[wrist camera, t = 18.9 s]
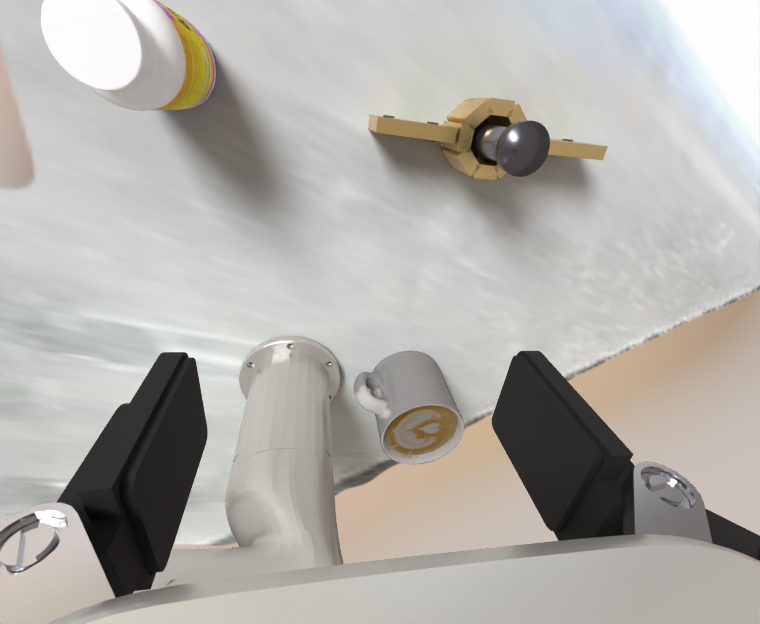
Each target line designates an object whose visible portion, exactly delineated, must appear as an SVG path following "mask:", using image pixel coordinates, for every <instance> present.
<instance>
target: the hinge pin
mask: <svg viewBox="0 0 760 624" xmlns="http://www.w3.org/2000/svg"><path fill="white" fill-rule="evenodd" d="M549 148H550V137H549V134H548V131H547V130H546V128H545V127H544V126H543V125H542V124H540V123H538V122H535V121H527V120H522V121H517V122H515V123H513V124H511V125H510V126H508V127H502V126H494V125H487V124H479V125H478V126H477V127H476V128H474V133H473V138H472V143H471V148H470V150H471V151H472V153H474V154H477V155H480V156H483V157H486V158H490V159H493V160H496V161H497V164H498V166H499V167H500V168H501V169H502V170H503V171H504V172H506V173H508V174H511V175H514V176H518V177H522V176H527V175H530V174H532V173H533V172H535V171H536V170H537V169H539V168H540V166H541V165H542V164H543V163H544V161H545V159H546V157H547V155H548V152H549Z"/></svg>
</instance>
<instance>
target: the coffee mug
mask: <svg viewBox="0 0 760 624" xmlns="http://www.w3.org/2000/svg"><path fill="white" fill-rule="evenodd" d="M367 387H368V388H369V389H370V390H371V393H370V392H369V391H368V388H367ZM354 393H355V396H356V399H357V400H358V402H359V404H360V405H361V406H362V407H363V408H365V409H366V410H368V411H370V412H372V413H374V414H375V416H376V421H377V426H378V431H379V437H380V442H381V446H382V449H383V450H384V452H385V453H386V455H387V456H389V457H390V458H391V459H393V460H395V461H397V462H400V463H404V464H423V463H428V462H431V461H434V460H437V459H439V458H441V457H443V456H444V455H446V454H448V453H449V452H450V451H451V450H452V449H454V448H455V446H456V445H457V444H458V443H459V441H460V440H461V437H462V435H463V431H464V423H463V420H462V417H461V415H460V412H459V410H458V408H457V406H456V404H455V402H454V400H453V397H452V395H451V393H450V391H449V389H448V387H447V385H446V382H445V380H444V378H443V376H442V374H441V372H440V369H439V367H438V365H437V363H436V362H435V361H434V360H433V359H432V358H431V357H430V356H428V355H426V354H424V353H421V352H417V351H403V352H398V353H395V354H393V355H390V356H388V357H387V358H385V359H384V360H382V361H381V362H380V363H379V364H378V365H377V366H376V367H375V369H374V370H373V372H372V373H369V372H364V373H361V374H360V375H359V376H358V377H357V378H356V380H355V383H354Z"/></svg>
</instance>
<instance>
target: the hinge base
mask: <svg viewBox="0 0 760 624" xmlns="http://www.w3.org/2000/svg"><path fill="white" fill-rule="evenodd" d="M447 118H448V120H449V121H450V122H449V121H444V126H448V127H454V128H458V130H457V135H456V140H455V143H447V142H441V144H440V146H443V147H444V148H443V149H442V150H441V151H442V152H443V154H444V155H445V157H446V158H447V160H448V161H449V163H450V165H451V166H452V168H454V169H456V170H457V171H460V172H462V173H464V174H466V175H468V176H470V177H472V178H477V179H488V180H496V178H502V177H503V176H504V175H505V174H507V173H506V172H504V171H503V170H502V169H501V168H500V167H499V166H498V164H497V161H496V160H493V159H490V158H486V157H483V156H479V157H478V158H475V156H474V155H473V153H472V151H471V150H470V148H471V143H472V138H473V133H474V128H476V127H477V126H478V125H479V124H480V123H481V122H483V121H484V120H485V119H486V118H487V119H488V121H489V123H490V125H494V126H502V127H508V126H510V125H511V124H513V123H515V122H517V121H522V120H526V117H525V115H524V113H523V111H522V109H521V107H520V105H519V104H515V101H510V100H502V99H495V98H474V99H469V100H465V101H464V102H462V103H461V104H460V105H459V106H458V107H457V108H456V109H455V110H454V111H452V112H451V113H450V114H449V115H448V116H447ZM607 147H608V146H601V145H594V144H588V143H581V142H574V141H573V140H569V139H563V140H556V139H550V148H549V152H548V155H557V156H567V157H576V158H586V159H595V160H603V158H604V155H605V152H606V149H607Z"/></svg>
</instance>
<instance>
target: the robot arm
mask: <svg viewBox="0 0 760 624" xmlns="http://www.w3.org/2000/svg"><path fill="white" fill-rule="evenodd" d="M340 381H341V378H340V369H339V365H338V363H337V360H336V359H335V357H334V356H333V355H332V353H331V352H330V351H329V350H328V349H326V348H325V347H324V346H322V345H320V344H319V343H317V342H314V341H312V340H309V339H305V338H300V337H282V338H276V339H273V340H269V341H267V342H265V343H263V344H260V345H259V346H258V347H256V348H255V349H253V350H252V351H251V352H250V353H249V354H248V356H247V357H246V359H245V360H244V362H243V364H242V367H241V370H240V376H239V383H240V388H241V391H242V393H243V395H244V396H245V398H246V399H247V403H246V407H245V411H244V416H243V420H242V424H241V429H240V433H239V437H238V442H237V446H236V451H235V455H234V459H233V464H232V468H231V472H230V477H229V481H228V486H227V491H226V497H225V509H226V515H227V520H228V523H229V526H230V529H231V531H232V534H233V536H234V538H235V540H236V541H237V543H238V545H239V547H234V548H231V549H172V547H173V544H174V541H175V538H176V535H177V532H178V528H179V525H180V522H181V519H182V516H183V513H184V510H185V507H186V504H187V501H188V497H189V494H190V491H191V488H192V485H193V482H194V479H195V476H196V473H197V469H198V466H199V463H200V460H201V457H202V454H203V451H204V448H205V445H206V441H207V424H206V418H205V412H204V407H203V401H202V395H201V389H200V383H199V378H198V372H197V366H196V361H195V359H194V358H188V355H187V353H185V352H165V353H161V354H160V355H159V357H158V359H157V360H156V362H155V363H154V365H153V367H152V368H151V370H150V371H149V373H148V375H147V376H146V378H145V380H144V381H143V383H142V384H141V386H140V388H139V389H138V391H137V393H136V394H135V396H134V397H133V399H132V401H131V402H130V403H128V404H122V405H121V406H119V408H118V409H117V410H116V411H115V413H114V414H113V416H112V418H111V419H110V421H109V422H108V424H107V425H106V427H105V428H104V430H103V431H102V433H101V435H100V436H99V438H98V439H97V441H96V442H95V444H94V445H93V447H92V448H91V450H90V451H89V453H88V455H87V456H86V458H85V459H84V461H83V462H82V464H81V465H80V467H79V468H78V470H77V472H76V473H75V475H74V476H73V478H72V479H71V481H70V482H69V484H68V485H67V487H66V489H65V490H64V492H63V493H62V495H61V496H60V498H59V499H58V501H57V502H56V503H45V504H41V505H36V506H33V507H31V508H28V509H26V510H23V511H21V512H19V513H17V514H15V515H13V516H12V517H10V518H8V519H7V520H5V521H4V522H2V523H1V524H0V624H760V536H759V535H757V534H755V533H753V532H751V531H749V530H747V529H745V528H743V527H741V526H739V525H737V524H735V523H733V522H731V521H729V520H727V519H725V518H723V517H721V516H719V515H717V514H715V513H713V512H711V511H709V510H707V509H705V506H704V502H703V500H702V497H701V495H700V493H699V492H698V491H697V490H696V488H695V487H694V486H693V485H692V484H691V483H690V482H689V481H688V480H687V479H686V478H684V477H683V476H681V475H680V474H679V473H677V472H676V471H674V470H672V469H670V468H668V467H666V466H664V465H661V464H658V463H655V462H648V461H645V462H639V463H638V464H637V465H635V466H634V464H633V463H632V462H631V461H630V459H631V457H632V456H633V453H632V452H631V451H630V450H629V449H628V448H627V447H626V446H625V444H624V443H623V442H622V441H621V440H620V439H619V438H618V437H617V436H616V435H615V433H614V432H613V431H612V430H611V429H610V428H609V427H608V426H607V425H606V423H605V422H604V421H603V420H602V419H601V418H600V417H599V416H598V415H597V414H596V412H595V411H594V410H593V409H592V408H591V407H590V406H589V405H588V404H587V402H586V401H585V400H584V399H583V398H582V397H581V396H580V395H579V394H578V393H577V391H576V390H575V389H574V388H573V387H572V386H571V385H570V384H569V383H568V381H567V380H566V379H565V378H564V377H563V376H562V375H561V374H560V373H559V372H558V370H557V369H556V368H555V367H554V366H553V365H552V364H551V363H550V362H549V361H548V359H547V358H546V357H545V356H544V355H543V354H542V353H541V352H540V351H520V352H519V353H518V354H517V356H514V357H513V359H512V361H511V364H510V367H509V370H508V373H507V376H506V379H505V382H504V385H503V387H502V390H501V393H500V396H499V399H498V402H497V405H496V408H495V411H494V414H493V417H492V426H493V429H494V431H495V433H496V435H497V437H498V438H499V440H500V442H501V444H502V446H503V447H504V449H505V451H506V453H507V455H508V457H509V458H510V460H511V462H512V464H513V466H514V468H515V469H516V471H517V473H518V475H519V477H520V479H521V480H522V482H523V484H524V486H525V488H526V490H527V491H528V493H529V495H530V497H531V499H532V500H533V502H534V504H535V506H536V508H537V510H538V512H539V513H540V515H541V517H542V519H543V521H544V522H545V524H546V526H547V527H548V528H549V529H550V530H551V531H554V533H555V535H556V537H557V538H558V540H559V541H554V542H544V543H535V544H526V545H515V546H506V547H496V548H486V549H477V550H468V551H459V552H450V553H441V554H431V555H423V556H413V557H404V558H395V559H386V560H378V561H368V562H360V563H351V564H343V560H342V555H341V550H340V544H339V539H338V532H337V523H336V513H335V499H334V481H333V460H332V439H331V419H330V402H331V401H332V400H333V398H334V397H335V396H336V394H337V392H338V389H339V387H340Z"/></svg>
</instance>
